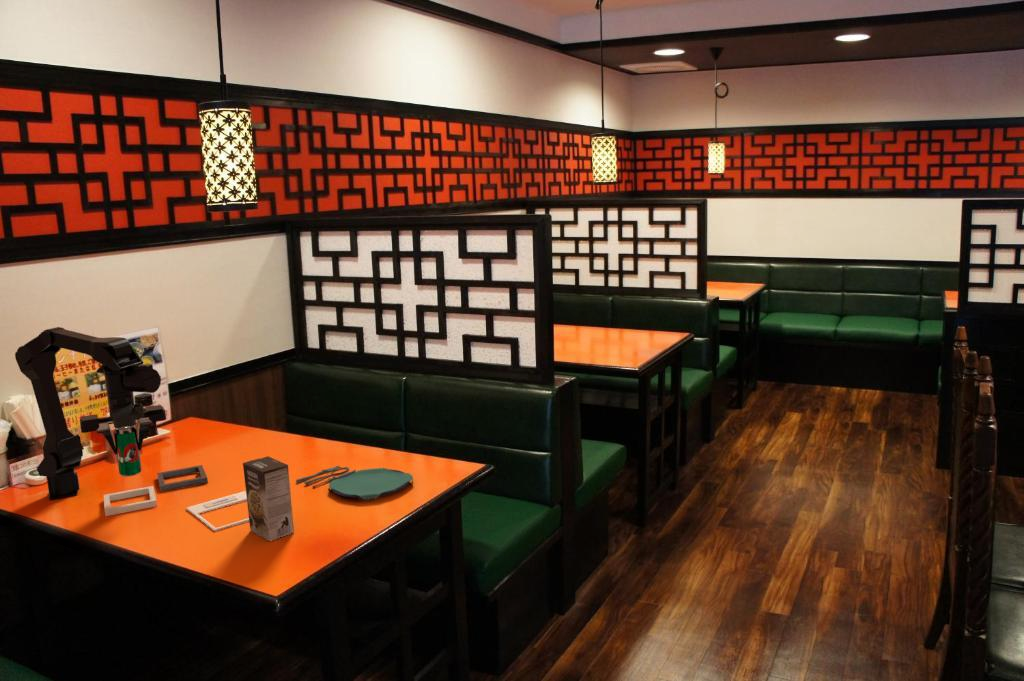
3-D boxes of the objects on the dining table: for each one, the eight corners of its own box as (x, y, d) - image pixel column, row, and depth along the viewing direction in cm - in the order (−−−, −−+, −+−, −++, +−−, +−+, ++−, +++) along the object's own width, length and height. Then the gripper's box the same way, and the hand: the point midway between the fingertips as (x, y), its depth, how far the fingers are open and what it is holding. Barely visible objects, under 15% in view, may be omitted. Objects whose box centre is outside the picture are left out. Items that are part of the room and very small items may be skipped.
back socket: (161, 491, 211) (160, 486, 211) (157, 478, 221) (156, 473, 221) (207, 482, 216) (207, 477, 216) (202, 470, 226) (201, 465, 226)
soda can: (145, 469, 206) (139, 423, 204) (135, 477, 201) (129, 430, 199) (126, 470, 206) (120, 423, 204) (115, 477, 201) (109, 430, 199)
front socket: (105, 516, 196) (104, 510, 196) (104, 500, 206) (103, 494, 206) (157, 506, 201) (156, 500, 201) (153, 491, 211) (153, 485, 211)
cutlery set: (369, 509, 194) (369, 500, 194) (288, 487, 212) (287, 479, 212) (427, 483, 210) (426, 475, 209) (347, 465, 228) (346, 457, 227)
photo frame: (244, 490, 208) (275, 510, 194) (245, 494, 208) (276, 514, 194) (186, 506, 198) (214, 528, 185) (186, 511, 199) (214, 533, 185)
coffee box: (248, 531, 184) (241, 462, 181) (275, 522, 189) (268, 454, 186) (269, 542, 178) (261, 471, 175) (295, 533, 182) (288, 463, 179)
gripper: (76, 404, 188) (86, 469, 191) (164, 391, 197) (172, 454, 200) (76, 393, 198) (85, 455, 201) (160, 382, 206) (167, 442, 209)
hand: (127, 452), depth 203 cm, fingers closed on soda can, 5 cm apart
